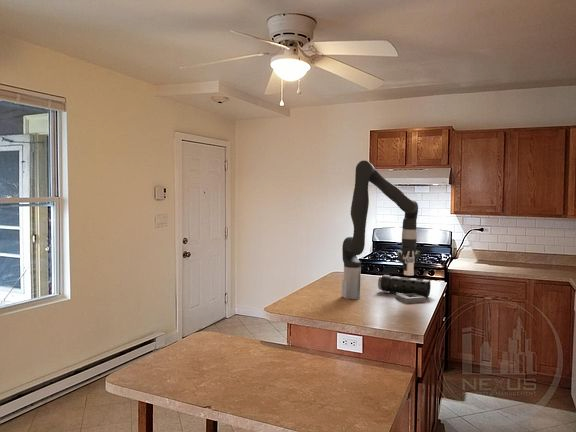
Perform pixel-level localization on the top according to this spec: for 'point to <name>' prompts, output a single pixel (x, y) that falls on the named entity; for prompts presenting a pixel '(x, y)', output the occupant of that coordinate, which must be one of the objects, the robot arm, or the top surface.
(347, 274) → the robot arm
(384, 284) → the muzzle brake
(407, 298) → the outlet block
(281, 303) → the top surface
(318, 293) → the top surface
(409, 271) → the plug
